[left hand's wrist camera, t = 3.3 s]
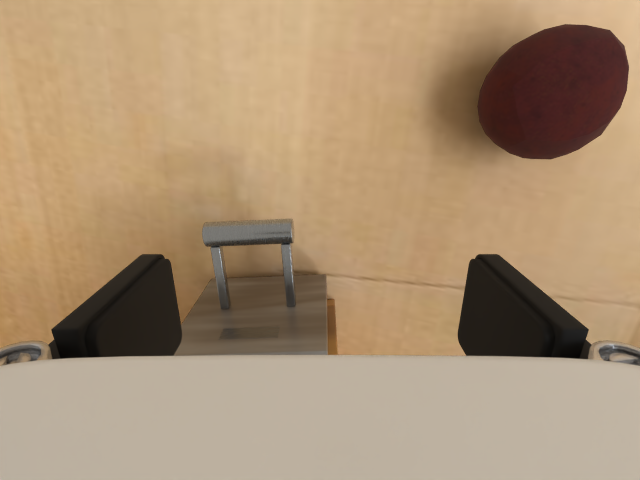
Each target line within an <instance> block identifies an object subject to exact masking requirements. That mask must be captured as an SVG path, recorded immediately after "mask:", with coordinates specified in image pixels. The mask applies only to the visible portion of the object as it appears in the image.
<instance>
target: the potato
mask: <svg viewBox="0 0 640 480" xmlns="http://www.w3.org/2000/svg"><path fill="white" fill-rule="evenodd" d="M628 72H629V65H628V60H627V56H626V51H625V47H624V45H623V44H622V43H621V42H620V41H619V40H618V39H617V37H616V36H615V35H614V34H613V33H612V32H611V31H610V30H606V29H602V28H597V27H592V26H588V25H568V24H565V25H561V26H557V27H552V28H548V29H544V30H542V31H540V32H538V33H536V34H534V35H532V36H530V37H528V38H526V39H524V40H522V41H520V42H519V43H517V44H515V45H513V46H512V47H511V48H510V49H509V50H508V51H507V52H505V53H504V54H503V55H502V56H501V57H500V58H499V59H498V61H497V62H496V63H495V65H494V66H493V68H492V69H491V70H490V72H489V73H488V75H487V76H486V78H485V81H484V83H483V85H482V88H481V90H480V95H479V101H478V113H479V121H480V123H481V125H482V127H483V129H484V131H485V133H486V135H487V136H488V137H489V138H490V139H491V140H492V141H493V142H494V143H495V144H496V145H498V146H499V147H501V148H502V149H504V150H506V151H507V152H509V153H511V154H513V155H516V156H519V157H522V158H529V159H553V158H556V157H560V156H563V155H566V154H569V153H571V152H574V151H576V150H578V149H580V148H582V147H583V146H585V145H586V144H588V143H589V142H591V141H592V140H594V139H595V138H597V137H598V136H600V135H601V134H602V133H603V131H604V130H605V129H606V127H607V126H608V124H609V123H610V122H611V120H612V119H613V117H614V116H615V115H616V113H617V112H618V110H619V109H620V107H621V105H622V102H623V99H624V96H625V93H626V91H627V81H628Z"/></svg>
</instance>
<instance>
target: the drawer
mask: <svg viewBox="0 0 640 480" xmlns="http://www.w3.org/2000/svg"><path fill="white" fill-rule="evenodd" d="M202 235H203V241H204V244H205V246H207V247H211V253H212V259H213V265H214V271H215V277H216V279H211V280H210V282H209V283H208V285H207V286H206V288H205V289H204V291H203V292H202V294H201V295H200V297H199V298H198V300H197V302H196V303H195V305H194V306H193V308H192V309H191V311H190V312H189V314H188V315H187V317H186V318H185V320H184V321H183V323H182V324H181V329H182V340H181V343H180V345H179V347H178V349H177V351H176V352H175V354H174V356H213V355H328V330H327V283H326V274H322V275H296V276H294V271H293V259H292V246H291V243H294V224H293V219H275V220H251V221H228V222H206V223H205V224H204V226H203V231H202ZM261 244H281V250H282V260H283V271H284V276H271V277H245V278H227V275H226V269H225V262H224V256H223V249H222V246H237V245H261Z"/></svg>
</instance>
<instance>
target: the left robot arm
mask: <svg viewBox="0 0 640 480" xmlns="http://www.w3.org/2000/svg"><path fill="white" fill-rule="evenodd" d="M52 333H53V337H54V340H53V341H52V342H51V343H50V344H49V345H48V344H47V343H44V342H42V341H25V342H19V343H15V344H11V345H7V346H5V347H2V348H0V480H640V348H638V347H635V346H633V345H629V344H625V343H621V342H615V341H598V342H596V343H593V344H592V345H591V344H590V343H589V342H588V341H587V340H586V337H587V333H588V329H587V328H586V327H585V326H584V325H582V324H581V323H580V322H579V321H578V320H576V319H575V318H574V317H573V316H572V315H570V314H569V313H568V312H567V311H566V310H564V309H563V308H562V307H561V306H560V305H558V304H557V303H556V302H555V301H554V300H552V299H551V298H550V297H549V296H548V295H546V294H545V293H544V292H543V291H542V290H540V289H539V288H538V287H537V286H536V285H534V284H533V283H532V282H531V281H530V280H528V279H527V278H526V277H525V276H524V275H522V274H521V273H520V272H519V271H517V270H516V269H515V268H514V267H513V266H511V265H510V264H509V263H508V262H507V261H505V260H504V259H503V258H502V257H501V256H499V255H497V254H479V255H477V256H476V258H475V259H471V261H470V263H469V268H468V274H467V280H466V286H465V292H464V298H463V304H462V310H461V316H460V323H459V329H458V340H459V343H460V345H461V347H462V349H463V351H464V352H465V354H466V356H420V355H213V356H174V354H175V352H176V351H177V349H178V347H179V345H180V343H181V340H182V329H181V323H180V316H179V310H178V304H177V298H176V292H175V286H174V280H173V274H172V268H171V263H170V261H169V259H165V258H164V256H163V255H161V254H143V255H141V256H139V257H138V258H137V259H136V260H135V261H133V262H132V263H131V264H130V265H129V266H127V267H126V268H125V269H124V270H123V271H121V272H120V273H119V274H118V275H116V276H115V277H114V278H113V279H112V280H110V281H109V282H108V283H107V284H106V285H104V286H103V287H102V288H101V289H100V290H98V291H97V292H96V293H95V294H94V295H92V296H91V297H90V298H89V299H88V300H86V301H85V302H84V303H83V304H82V305H80V306H79V307H78V308H77V309H76V310H74V311H73V312H72V313H71V314H70V315H68V316H67V317H66V318H65V319H64V320H62V321H61V322H60V323H59V324H58V325H56V326H55V327H54V328H53V329H52Z"/></svg>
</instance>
